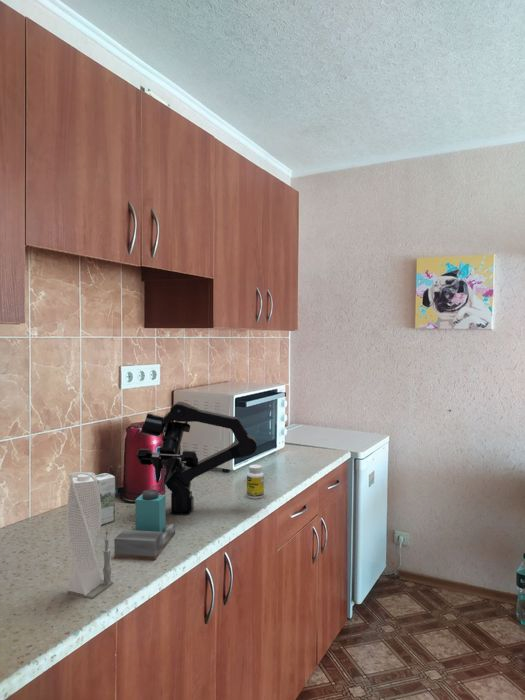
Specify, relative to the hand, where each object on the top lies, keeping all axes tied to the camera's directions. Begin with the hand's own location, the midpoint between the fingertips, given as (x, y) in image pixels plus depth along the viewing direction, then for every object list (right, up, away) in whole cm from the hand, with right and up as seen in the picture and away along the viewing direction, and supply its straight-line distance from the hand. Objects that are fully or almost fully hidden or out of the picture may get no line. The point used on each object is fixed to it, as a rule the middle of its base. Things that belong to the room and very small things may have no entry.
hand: (160, 482), depth 148 cm
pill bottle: (+28, -13, +29) cm, 42 cm away
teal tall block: (-1, -13, -9) cm, 16 cm away
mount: (-1, -14, -12) cm, 19 cm away
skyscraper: (-10, -15, -36) cm, 40 cm away
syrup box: (-19, -14, +5) cm, 24 cm away
